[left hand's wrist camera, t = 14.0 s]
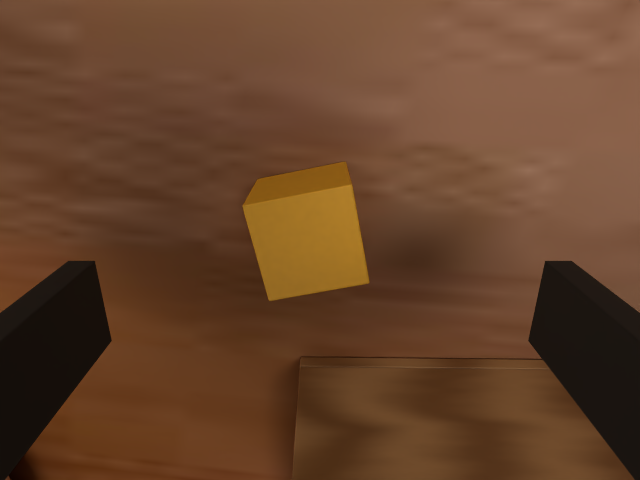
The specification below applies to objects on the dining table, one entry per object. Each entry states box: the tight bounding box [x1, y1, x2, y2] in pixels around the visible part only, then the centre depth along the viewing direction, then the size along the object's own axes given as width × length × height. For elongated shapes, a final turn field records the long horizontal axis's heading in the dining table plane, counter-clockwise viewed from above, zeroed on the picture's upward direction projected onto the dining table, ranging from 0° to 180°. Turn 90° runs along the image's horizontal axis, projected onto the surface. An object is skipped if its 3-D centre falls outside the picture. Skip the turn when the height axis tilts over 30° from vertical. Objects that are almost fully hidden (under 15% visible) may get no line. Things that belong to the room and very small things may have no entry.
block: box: [243, 162, 369, 301], centre depth 20 cm, size 4×4×4 cm
